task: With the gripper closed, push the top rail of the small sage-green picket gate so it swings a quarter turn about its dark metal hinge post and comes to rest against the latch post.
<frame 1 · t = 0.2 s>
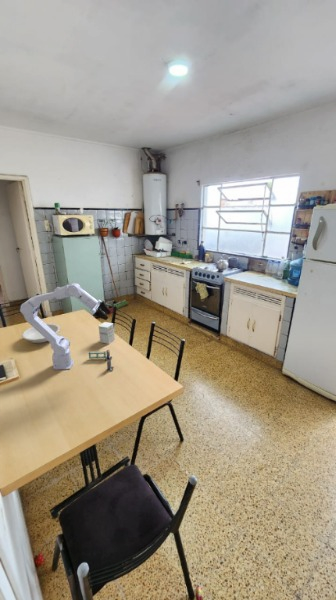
hand: (108, 315, 137), 31 cm above the table, tool tilted 45°, fingers open, 7 cm apart
supplement box: (107, 341, 173), on the table
hinge post: (108, 358, 153), on the table
latch post: (109, 369, 143), on the table
soup bowl: (43, 339, 176), on the table
gate: (97, 355, 152), point 3 cm above the table, hinge at 0.0°
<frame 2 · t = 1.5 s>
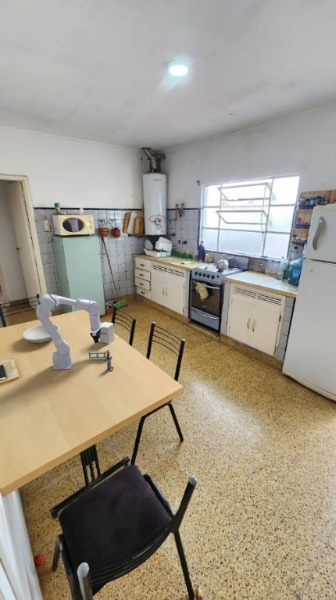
hand: (97, 340, 154), 10 cm above the table, tool pointing down, fingers open, 5 cm apart
nothing on the table moved.
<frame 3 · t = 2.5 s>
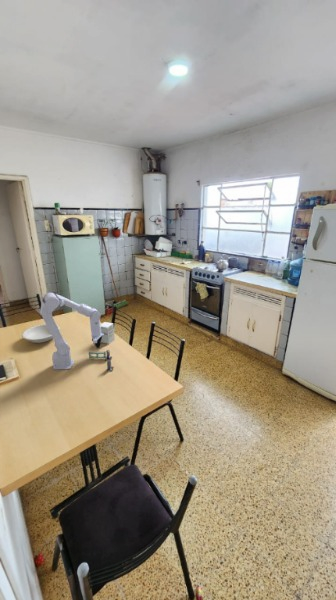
hand: (98, 347, 156), 5 cm above the table, tool pointing down, fingers closed
nothing on the table moved.
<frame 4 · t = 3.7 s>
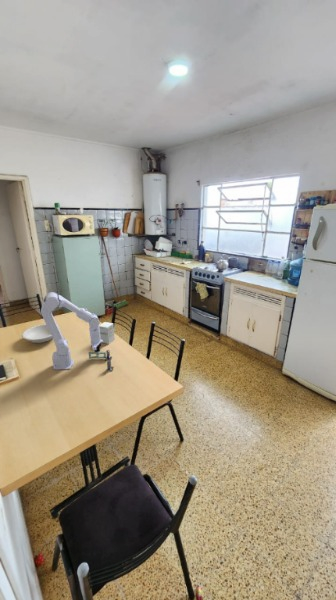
hand: (97, 354, 153), 2 cm above the table, tool pointing down, fingers closed, pressing on gate
gate: (97, 355, 152), point 3 cm above the table, hinge at 0.3°, touching gripper
everything else where it was.
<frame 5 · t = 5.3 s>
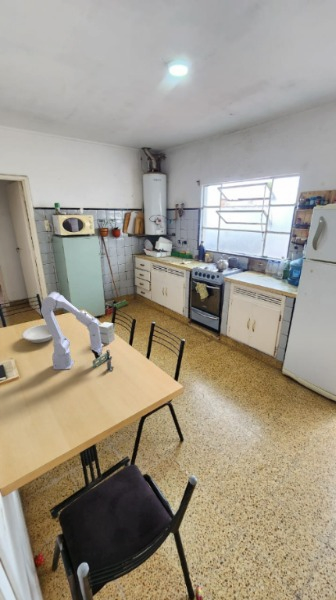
hand: (98, 359, 148), 2 cm above the table, tool pointing down, fingers closed, pressing on gate
gate: (100, 360, 147), point 3 cm above the table, hinge at 56.1°, touching gripper
everything else where it was.
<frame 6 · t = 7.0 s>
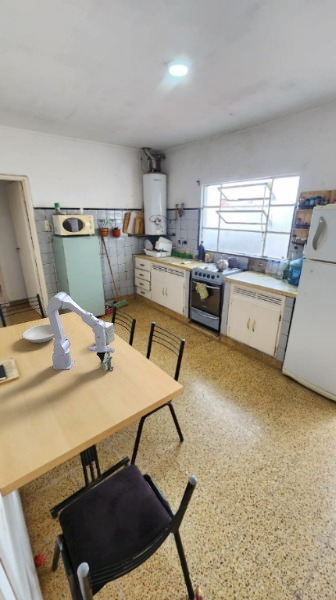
hand: (102, 362, 146), 2 cm above the table, tool pointing down, fingers closed
gate: (105, 360, 146), point 3 cm above the table, hinge at 88.7°, touching gripper
everything else where it was.
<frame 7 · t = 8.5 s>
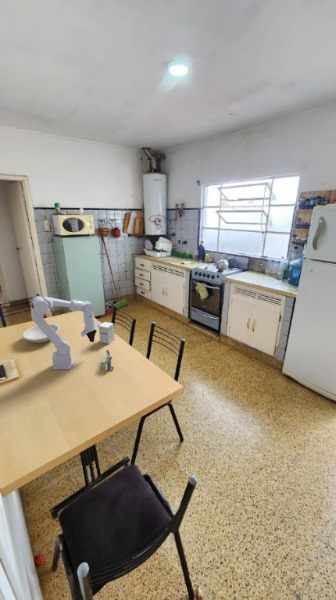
hand: (92, 341, 153), 10 cm above the table, tool pointing down, fingers closed
gate: (105, 360, 146), point 3 cm above the table, hinge at 88.8°
everything else where it was.
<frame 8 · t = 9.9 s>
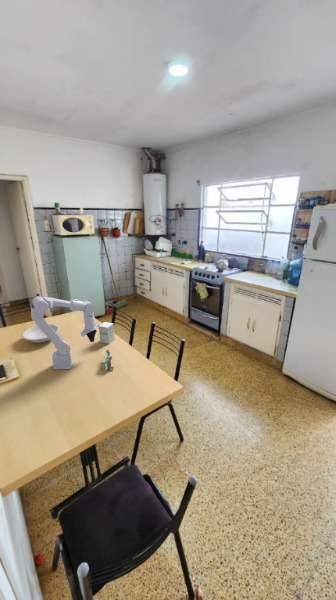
hand: (92, 341, 153), 10 cm above the table, tool pointing down, fingers closed
nothing on the table moved.
at the end: gate at +89° (first picture: +0°) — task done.
